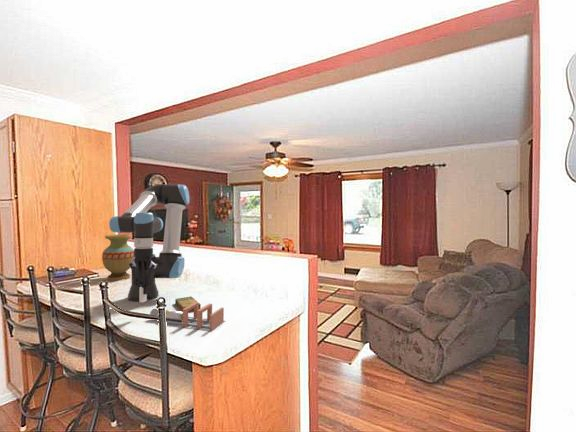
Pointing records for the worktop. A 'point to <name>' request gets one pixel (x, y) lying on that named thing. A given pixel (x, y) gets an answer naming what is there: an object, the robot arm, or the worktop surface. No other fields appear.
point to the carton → (185, 303)
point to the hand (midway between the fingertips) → (143, 301)
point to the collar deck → (199, 318)
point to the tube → (170, 315)
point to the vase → (118, 256)
